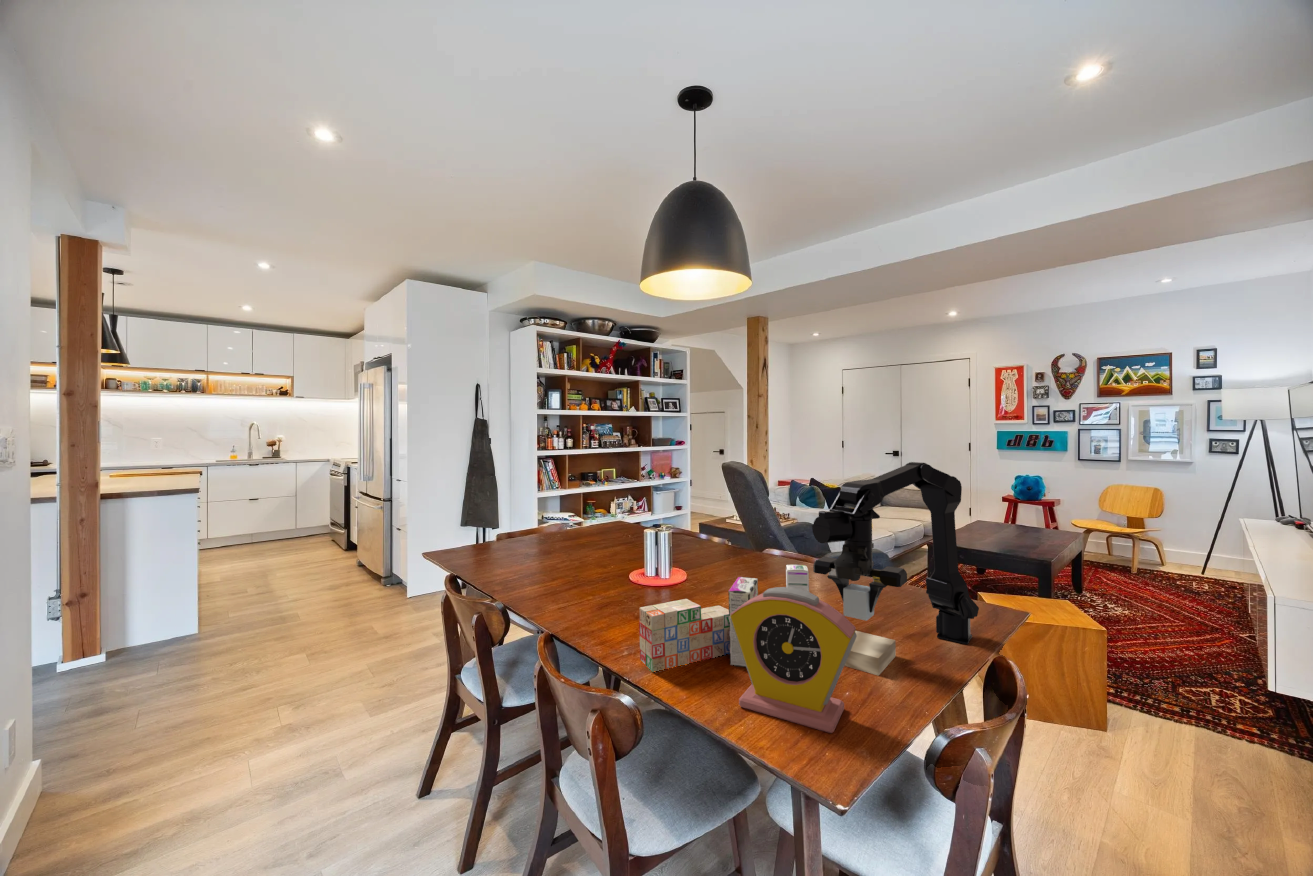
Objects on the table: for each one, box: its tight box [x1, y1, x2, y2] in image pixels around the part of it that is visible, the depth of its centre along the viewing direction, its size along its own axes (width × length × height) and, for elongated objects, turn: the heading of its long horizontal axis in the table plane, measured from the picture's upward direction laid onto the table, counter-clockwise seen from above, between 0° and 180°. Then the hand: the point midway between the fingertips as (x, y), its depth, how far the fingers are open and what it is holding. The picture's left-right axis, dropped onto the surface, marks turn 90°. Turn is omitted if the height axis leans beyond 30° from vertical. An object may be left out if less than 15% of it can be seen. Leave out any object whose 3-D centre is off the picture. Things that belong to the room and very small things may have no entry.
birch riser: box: [844, 630, 897, 677], centre depth 112 cm, size 12×12×4 cm
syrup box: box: [785, 564, 810, 592], centre depth 134 cm, size 6×6×14 cm
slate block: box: [842, 583, 875, 621], centre depth 112 cm, size 5×5×6 cm
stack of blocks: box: [638, 598, 730, 673], centre depth 113 cm, size 21×6×12 cm, turn 117°
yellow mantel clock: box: [730, 586, 857, 734], centre depth 91 cm, size 22×9×22 cm, turn 58°
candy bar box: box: [728, 576, 759, 668], centre depth 113 cm, size 11×5×16 cm, turn 160°
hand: (858, 609), depth 112 cm, fingers closed on slate block, 5 cm apart
